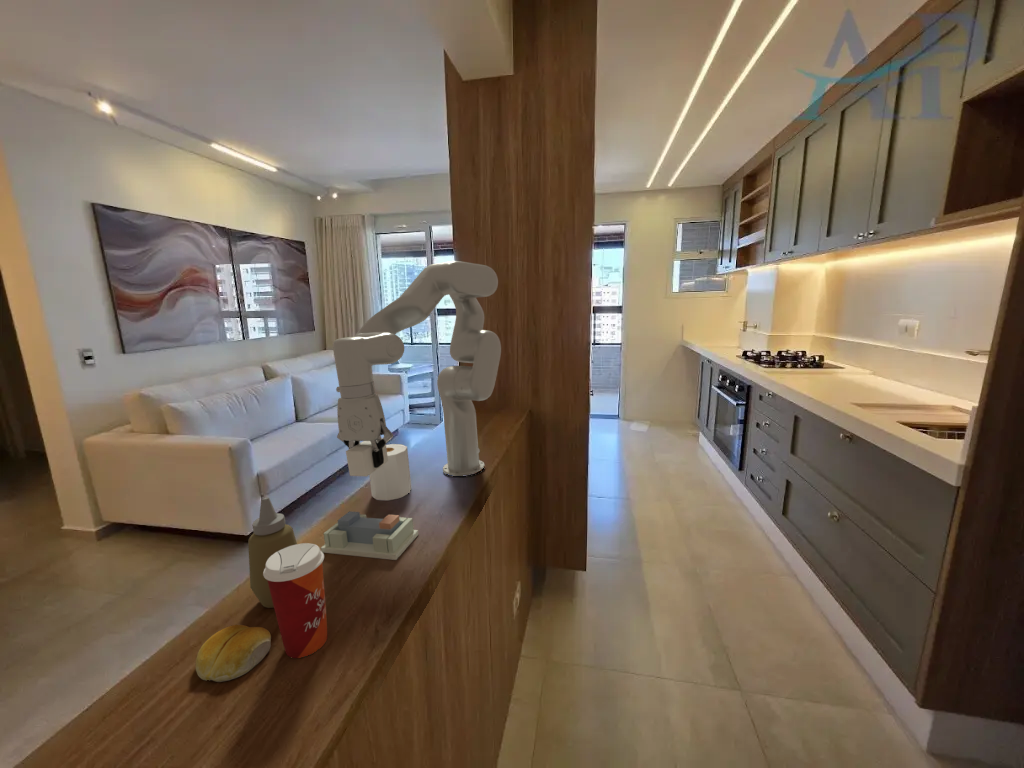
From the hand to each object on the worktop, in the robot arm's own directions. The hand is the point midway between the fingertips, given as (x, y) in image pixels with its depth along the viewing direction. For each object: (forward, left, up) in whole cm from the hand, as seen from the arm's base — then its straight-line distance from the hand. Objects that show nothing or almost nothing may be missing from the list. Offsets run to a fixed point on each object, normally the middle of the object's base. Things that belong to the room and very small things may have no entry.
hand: (369, 464), depth 99 cm
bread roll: (+43, +5, -13) cm, 45 cm away
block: (0, 0, -1) cm, 1 cm away
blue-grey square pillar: (+13, +7, -11) cm, 18 cm away
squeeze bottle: (+31, +1, -12) cm, 33 cm away
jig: (+13, +7, -12) cm, 19 cm away
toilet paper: (-11, -2, -12) cm, 17 cm away
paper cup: (+39, +13, -12) cm, 43 cm away
